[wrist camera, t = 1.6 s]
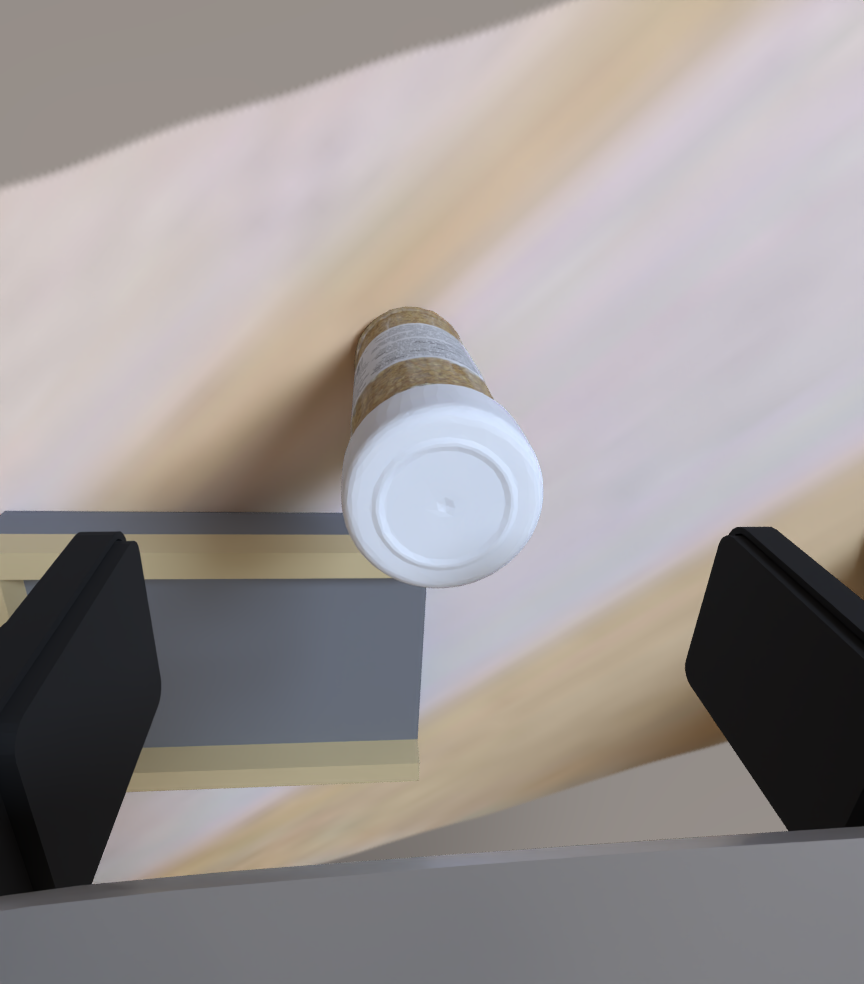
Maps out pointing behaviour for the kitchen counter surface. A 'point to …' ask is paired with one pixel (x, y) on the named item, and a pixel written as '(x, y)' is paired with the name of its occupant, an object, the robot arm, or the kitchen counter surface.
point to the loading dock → (256, 645)
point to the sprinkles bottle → (433, 458)
